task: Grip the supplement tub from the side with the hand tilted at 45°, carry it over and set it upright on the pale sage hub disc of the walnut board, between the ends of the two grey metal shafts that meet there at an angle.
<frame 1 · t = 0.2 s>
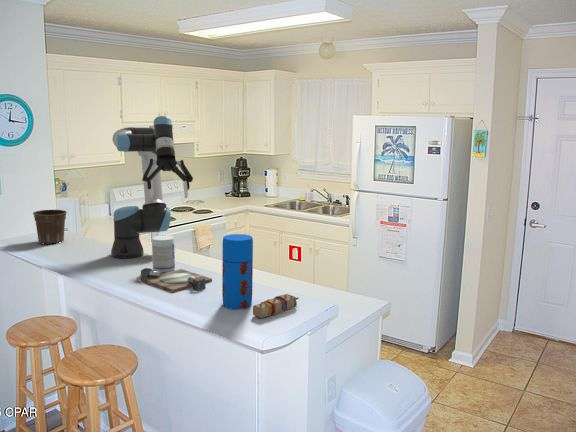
hand: (169, 196, 209), 35 cm above the table, tool tilted 35°, fingers open, 13 cm apart
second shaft: (150, 274, 215), on the table
supplement tub: (163, 270, 229), on the table
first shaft: (195, 282, 206), on the table
plant pot: (51, 242, 275), on the table
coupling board: (177, 281, 214), on the table
thermos: (237, 304, 189), on the table
skewer: (278, 311, 184), on the table
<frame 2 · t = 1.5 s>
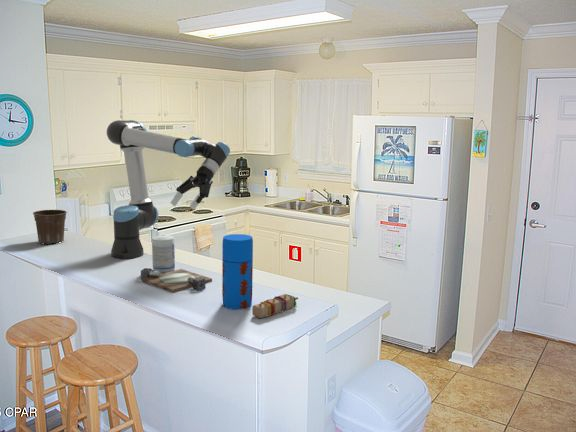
hand: (182, 206, 232), 27 cm above the table, tool tilted 45°, fingers open, 13 cm apart
nothing on the table moved.
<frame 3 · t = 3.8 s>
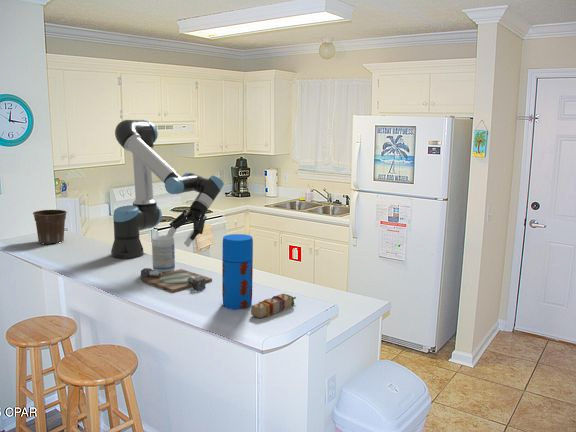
hand: (176, 242, 230), 12 cm above the table, tool tilted 45°, fingers open, 13 cm apart
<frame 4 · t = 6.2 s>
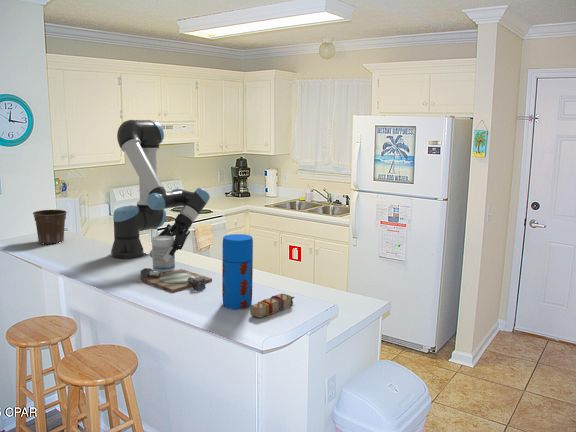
hand: (157, 258, 226), 6 cm above the table, tool tilted 45°, fingers closed on supplement tub, 9 cm apart
supplement tub: (163, 270, 229), on the table, touching gripper
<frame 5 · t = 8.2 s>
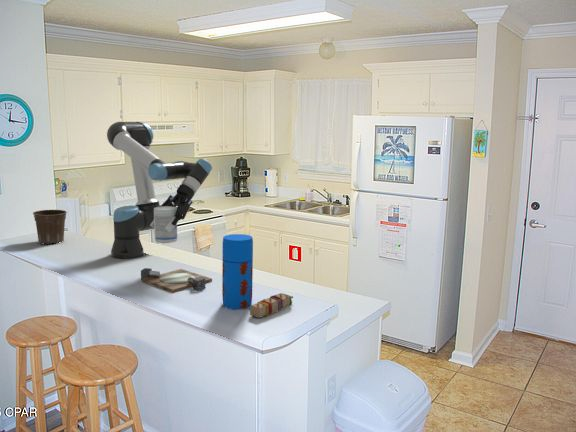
hand: (159, 228, 221), 19 cm above the table, tool tilted 45°, fingers closed on supplement tub, 9 cm apart
supplement tub: (166, 241, 225), point 13 cm above the table, touching gripper
when the fingers open (8 cm above the table, at t = 12.1 s): supplement tub stays where it is, resting on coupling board.
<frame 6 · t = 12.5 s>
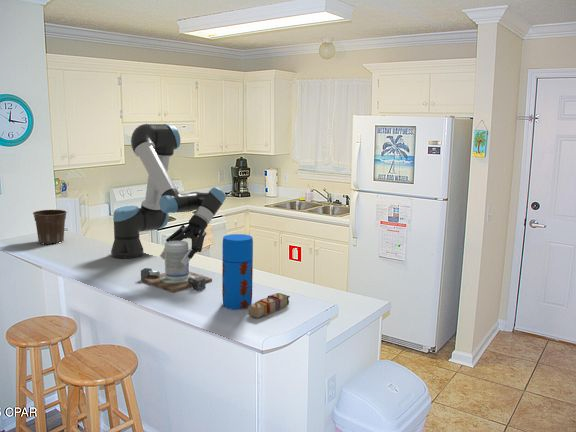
hand: (172, 260, 210), 9 cm above the table, tool tilted 45°, fingers open, 13 cm apart
supplement tub: (177, 278, 214), point 1 cm above the table, touching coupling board
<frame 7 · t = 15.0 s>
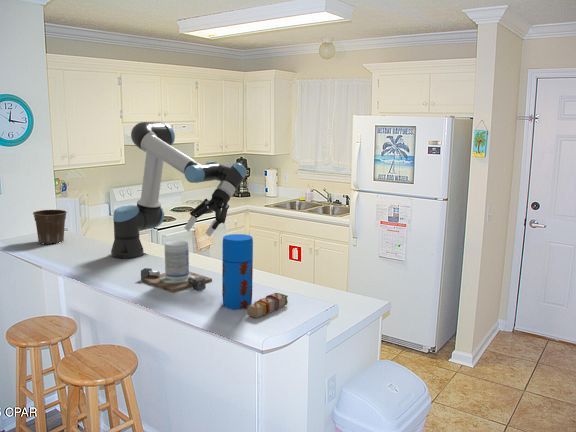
hand: (196, 232, 218), 19 cm above the table, tool tilted 45°, fingers open, 13 cm apart
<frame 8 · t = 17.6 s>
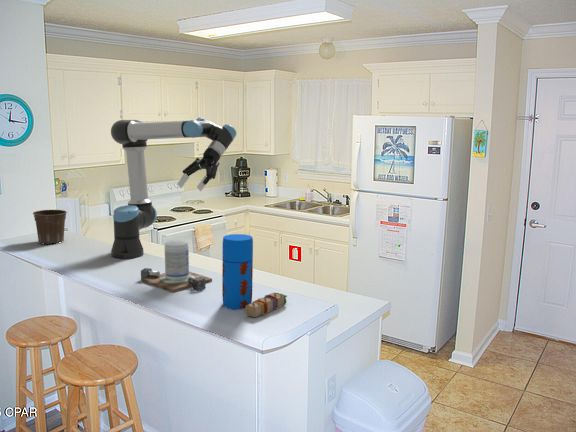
hand: (188, 187, 232), 36 cm above the table, tool tilted 45°, fingers open, 13 cm apart
at the end: supplement tub 0.3 cm off-centre on the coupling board, point 1.3 cm above the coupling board's base; supplement tub tilted 0°; the gripper is holding nothing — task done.
